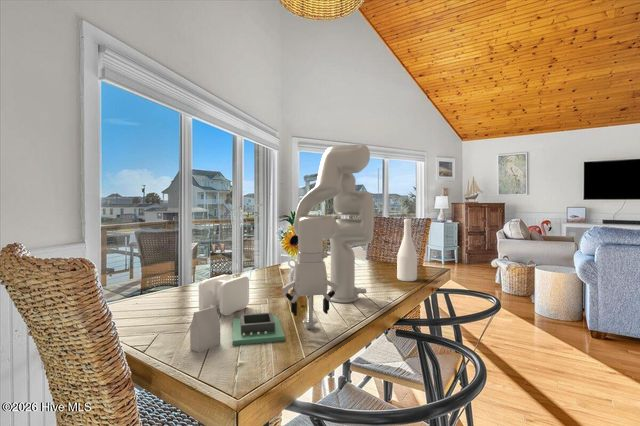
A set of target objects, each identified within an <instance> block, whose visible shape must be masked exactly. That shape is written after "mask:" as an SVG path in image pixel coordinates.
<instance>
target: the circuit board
mask: <svg viewBox="0 0 640 426" xmlns="http://www.w3.org/2000/svg"><path fill="white" fill-rule="evenodd" d="M285 339H286V338H285V333H284V330H283V328H282V325H281V321H280V320H279V317H278V315H273V313H272V312H261V313H260V312H259V313H247V314H246V313H244V314H240V317H239V318H237V317H236V318H233V319H232V346H239V345H251V344H252V345H253V344H262V343H272V342H282V341H283V342H284V341H285Z"/></svg>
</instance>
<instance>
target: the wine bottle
mask: <svg viewBox="0 0 640 426" xmlns="http://www.w3.org/2000/svg"><path fill="white" fill-rule="evenodd" d="M403 225H404V226H403V237H402V240H401V243H400V247H399V248H398V252H397V257H396V262H397V263H396V267H397V269H396V277H397V280H399V281H402V282H415V281H417V279H418V254H417V251H416V247H415V244H414V242H413V241H414V240H413V238H412V218H404V219H403Z"/></svg>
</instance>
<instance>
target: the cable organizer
mask: <svg viewBox="0 0 640 426" xmlns="http://www.w3.org/2000/svg"><path fill="white" fill-rule="evenodd" d="M249 303H250V278H249V276H246V275H242V276H238V277H235V278H232V277H231V275H230V274H221V275H218V276H214V277H210V278H207V279H204V280H202V281H200V283H199V284H198V311H200V310H204V309H207V308H210V307H214V306H216V309H219V313H220V314H221V315H223V316H226V317H228V316H231V315H233V314H234V313H235V312H237V311H242V310H244V309H245V308H246V307H247V306H248V305H249Z"/></svg>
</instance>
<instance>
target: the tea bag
mask: <svg viewBox="0 0 640 426" xmlns="http://www.w3.org/2000/svg"><path fill="white" fill-rule="evenodd" d="M217 309H218V308H217ZM217 309H216V306H214V307H210V308H207V309H204V310H200V311H199V310H198V311H195V312H193V315H192V320H191V323H190V326H189V333H190V334H189V341H190V343H189V344H190V345H189V347H190V350H192V351H193V352H196V353H202V352H204V351H207V350H209V349H211V348H214V347H216V346H218V345H221V320H220V317H219V313H218V311H217Z"/></svg>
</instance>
